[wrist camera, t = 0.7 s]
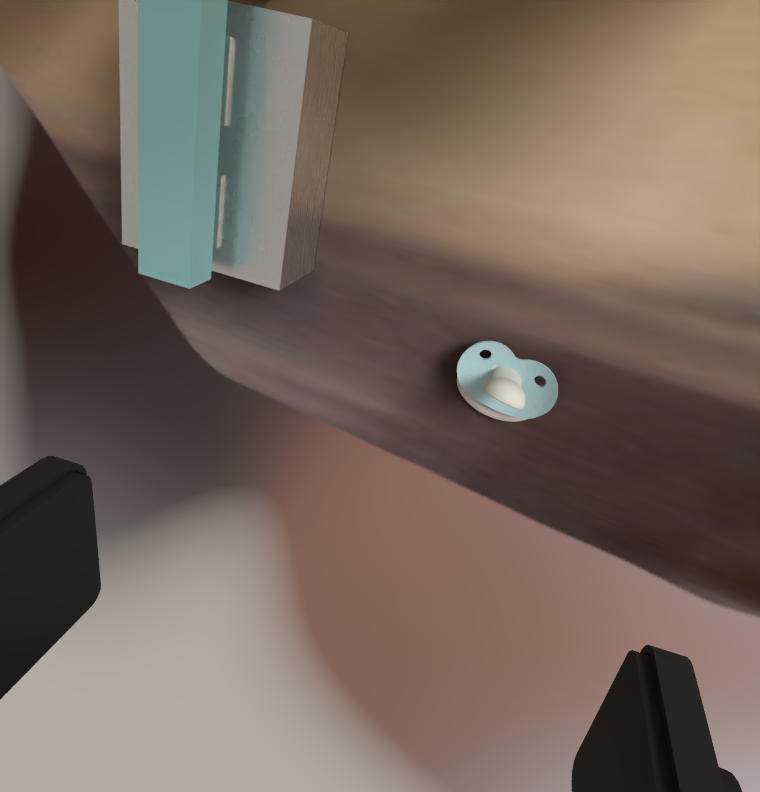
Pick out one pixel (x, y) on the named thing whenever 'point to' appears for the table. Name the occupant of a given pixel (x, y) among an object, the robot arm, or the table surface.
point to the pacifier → (504, 383)
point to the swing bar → (178, 136)
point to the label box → (256, 139)
